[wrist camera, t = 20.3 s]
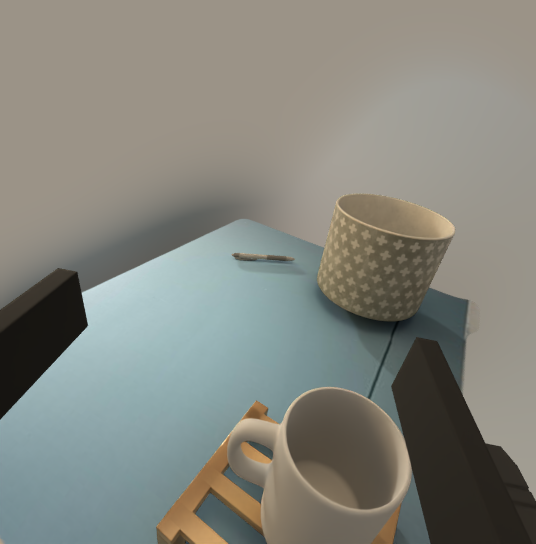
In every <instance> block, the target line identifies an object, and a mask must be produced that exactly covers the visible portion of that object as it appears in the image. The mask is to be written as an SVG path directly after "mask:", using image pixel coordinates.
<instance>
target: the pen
mask: <svg viewBox="0 0 536 544" xmlns="http://www.w3.org/2000/svg"><path fill="white" fill-rule="evenodd" d="M232 256H234V257H235V258H236V259H239V260H247V259H251V258H253V259H252V260H257V259H265V260H279V261H292V260H295V259H294V258H292V257H286V256H274V255H257V254H243V253H234V254H232Z"/></svg>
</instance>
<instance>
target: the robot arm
mask: <svg viewBox="0 0 536 544" xmlns="http://www.w3.org/2000/svg"><path fill="white" fill-rule="evenodd" d="M87 326H88V323H87V318H86V313H85V308H84V303H83V298H82V293H81V289H80V283H79V279H78V273H77V272H75V271H70V270H65V269H60V268H58V269H56V270H55V271H54V272H52V273H51V274H50V275H48V276H47V277H45V278H44V279H42V280H41V281H40V282H38V283H37V284H35V285H34V286H33V287H31V288H30V289H29V290H27V291H26V292H25V293H23V294H22V295H20V296H19V297H17V298H16V299H15V300H13V301H12V302H11V303H9V304H8V305H6V306H5V307H4V308H2V309H1V310H0V419H1V418H2V417H3V416H4V415H5V414H6V413H7V412H8V411H9V410H10V409H11V408H12V406H13V405H14V404H15V403H16V402H17V401H18V400H19V399H20V398H21V397H22V396H23V395H24V394H25V393H26V391H27V390H28V389H29V388H30V387H31V386H32V385H33V384H34V383H35V382H36V381H37V380H38V379H39V378H40V377H41V375H42V374H43V373H44V372H45V371H46V370H47V369H48V368H49V367H50V366H51V365H52V364H53V363H54V362H55V361H56V359H57V358H58V357H59V356H60V355H61V354H62V353H63V352H64V351H65V350H66V349H67V348H68V347H69V346H70V344H71V343H72V342H73V341H74V340H75V339H76V338H77V337H78V336H79V335H80V334H81V333H82V332H83V331H84V330H85V328H86V327H87ZM391 387H392V391H393V395H394V399H395V403H396V407H397V411H398V415H399V419H400V423H401V427H402V431H403V435H404V439H405V443H406V447H407V451H408V455H409V459H410V463H411V467H412V471H413V475H414V479H415V483H416V487H417V491H418V495H419V499H420V503H421V507H422V511H423V515H424V519H425V523H426V527H427V531H428V535H429V539H430V543H431V544H536V501H535V499H534V497H533V495H532V493H531V492H529V490H528V488H529V487H528V485H527V483H526V482H525V480H524V478H523V476H522V474H521V472H520V470H519V468H518V466H517V465H516V464H515V463H514V462H513V460H512V459H511V458H510V457H509V456H508V455H507V453H506V452H505V451H504V450H503V449H502V448H501V447H500V446H495V445H490V444H485V442H484V440H483V438H482V435H481V433H480V431H479V429H478V427H477V425H476V423H475V421H474V419H473V416H472V414H471V412H470V410H469V408H468V406H467V404H466V401H465V399H464V397H463V395H462V393H461V391H460V389H459V387H458V384H457V382H456V380H455V378H454V376H453V374H452V372H451V370H450V367H449V365H448V363H447V361H446V359H445V357H444V355H443V353H442V350H441V348H440V346H439V344H438V342H437V341H433V340H428V339H423V338H418V337H416V339H415V341H414V343H413V345H412V347H411V349H410V351H409V353H408V355H407V357H406V359H405V361H404V362H403V364H402V366H401V368H400V370H399V372H398V374H397V376H396V378H395V380H394V382H393V384H392V386H391Z"/></svg>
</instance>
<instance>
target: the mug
mask: <svg viewBox="0 0 536 544" xmlns="http://www.w3.org/2000/svg"><path fill="white" fill-rule="evenodd" d="M245 441H252V442H256V443H259V444H261V445H263V446H265V447H267V448H269V449H270V450H272V452H273V459H272V462H271V463H269V464H265V463H260V462H257V461H254V460H252V459H250V458H248V457H247V456H246V455H245V454H244V453H243V451H242V449H241V443H242V442H245ZM227 458H228V463H229V466H230V467H231V469H232V471H233V472H234V473H235V474H236V475H238V476H239V477H241V478H242V479H244V480H246V481H249V482H251V483H254V484H256V485H258V486H261V487H262V488H263V489H264V491H263V496H262V501H261V523H262V529H263V533H264V537H265V539H266V542H267V544H371V543H372V541H373V540H374V539H375V537H376V536H377V535H378V533H379V532H380V531H381V529H382V528H383V527H384V525H385V524H386V523H387V521H388V520H389V518H390V517H391V516H392V514H393V513H394V512H395V510H396V509H397V508H398V506H399V505H400V503H401V502H402V501H403V499H404V497H405V495H406V493H407V491H408V489H409V485H410V482H411V473H412V468H411V463H410V459H409V455H408V451H407V447H406V443H405V439H404V437H403V435H402V434H401V432H400V430H399V429H398V427H397V426H396V424H395V423H394V422H393V420H392V419H391V418H390V417H389V416H388V415H387V414H386V413H385V412H384V411H383V410H382V409H381V408H380V407H379V406H377V405H376V404H375V403H373V402H372V401H371V400H369V399H367V398H366V397H364V396H362V395H360V394H358V393H355V392H352V391H350V390H346V389H342V388H336V387H322V388H317V389H313V390H310V391H308V392H306V393H304V394H302V395H301V396H299V397H298V398H297V399H296V400H295V401H294V402H293V403H292V404H291V405H290V407H289V408H288V410H287V412H286V414H285V416H284V419H283V422H282V423H281V424H275V423H271V422H267V421H263V420H259V419H252V418H250V419H244V420H242V421H240V422H239V423H238V424H237V425H236V426H235V428H234V429H233V431H232V433H231V435H230V438H229V442H228V446H227Z"/></svg>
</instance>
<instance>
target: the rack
mask: <svg viewBox="0 0 536 544" xmlns="http://www.w3.org/2000/svg"><path fill="white" fill-rule="evenodd" d="M267 412H268V408H267V407H266V406H264V405H263V404H261V403H260V402H258V401H256V402H255V403H254V404H253V405H252V407H251V408H250V409H249V410H248V412H247V413H246V414H245V415H244V417H243V418H242V419H241V420H240V421H242V420H244V419H250V418H252V419H259V420H263V421H267V422H271V423H275V424H278V423H277V422H275V421H274V420H272V419H271V418H269V417H268V416H267ZM231 433H232V432H231ZM231 433H230V434H229V436H228V437H227V438H226V439H225V441H224V442H223V443H222V444H221V446H220V447H219V448H218V450H217V451H216V452H215V453H214V455H213V456H212V457H211V458H210V460H209V461H208V462H207V463H206V465H205V466H204V467H203V468H202V470H201V471H200V472H199V473H198V475H197V476H196V477H195V479H194V480H193V481H192V482H191V484H190V485H189V486H188V487H187V489H186V490H185V491H184V492H183V494H182V495H181V496H180V498H179V499H178V500H177V501H176V502H175V504H174V505H173V506H172V507H171V509H170V510H169V511H168V512H167V514H166V515H165V516H164V518H163V519H162V520H161V522H160V523H159V524H158V525H157V527H156V529H157V541H158V544H185V543H186V541H187V542H188V543H189V544H228V543H227V542H226V541H225V540H224V539H223V538H221V537H220V536H219V535H218V534H217V533H216V532H215V531H213V530H212V529H211V528H210V527H209V526H208V525H207V524H205V523H204V522H203V521H202V520H201V519H200V518H199V517H198V516H196V515H195V513H196V512H197V510H198V509H199V507H200V506H201V505H202V503H203V502H204V501H205V499H206V498H207V496H208V495H209V494H210V493H212V494H213V495H214V496H215V497H216V498H218V499H219V500H220V501H221V502H222V503H224V504H225V505H226V506H227V507H229V508H230V509H231V510H232V511H233V512H235V513H236V514H237V515H238V516H239V517H241V518H242V519H243V520H244V521H246V522H247V523H248V524H249V525H250V526H252V527H253V528H254V529H255V530H256V531H258V532H259V533H260V534H261V535H263V536H264V533H263V529H262V523H261V504H260V503H259V502H257V501H256V500H255V499H253V498H252V497H251V496H250V495H248V494H247V493H246V492H244V491H243V490H242V489H241V488H239V487H238V486H237V485H236V484H234V483H233V482H232V481H230V480H229V479H228V478H227V477H225V476H224V475H223V474H224V473H225V471H226V470H227V469H228V467H229V463H228V458H227V446H228V442H229V438H230V435H231ZM246 442H247V441H245V442H242V443H241V449H242V451H243V453H244V454H245V455H246V456H247V457H248V458H250V459H252V460H254V461H257V462H260V463H265V464H269V463H271V462H272V460H270V459H269V458H268V457H266V456H265V455H263V454H262V453H260V452H259V451H258V450H256V449H255V448H253V447H252V446H251V445H249V444H248V443H246ZM401 503H402V502H401ZM401 503H400V505H399V506H398V508H397V509H396V510H395V512H394V513H393V514H392V516H391V517H390V518H389V520H388V521H387V523H386V524H385V525H384V527H383V528H382V529H381V531H380V532H379V533H378V535H377V536H376V537H375V539H374V540H373V541H372V543H371V544H393V540H394V535H395V531H396V526H397V521H398V517H399V512H400V507H401Z"/></svg>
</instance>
